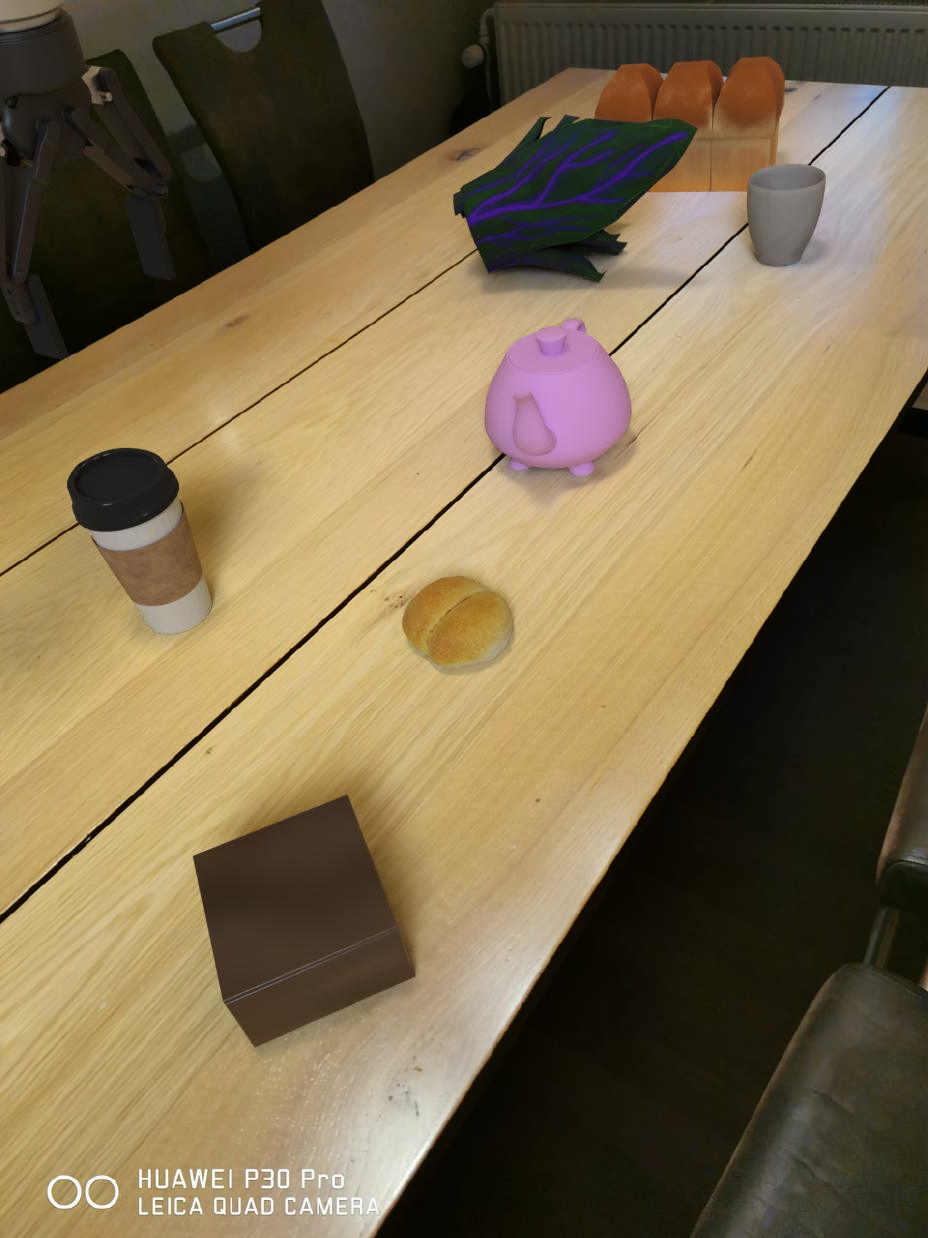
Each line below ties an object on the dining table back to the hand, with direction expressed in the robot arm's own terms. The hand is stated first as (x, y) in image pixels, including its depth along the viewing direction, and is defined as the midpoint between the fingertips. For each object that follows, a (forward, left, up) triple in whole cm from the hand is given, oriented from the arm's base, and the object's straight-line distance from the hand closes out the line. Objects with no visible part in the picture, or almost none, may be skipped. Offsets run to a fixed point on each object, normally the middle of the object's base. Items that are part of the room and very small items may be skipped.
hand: (109, 313), depth 78 cm
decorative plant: (-30, +56, -23) cm, 68 cm away
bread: (-47, +83, -23) cm, 98 cm away
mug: (-17, +78, -23) cm, 83 cm away
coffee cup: (+12, -4, -23) cm, 26 cm away
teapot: (+8, +35, -23) cm, 43 cm away
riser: (+48, -1, -22) cm, 53 cm away
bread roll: (+27, +17, -23) cm, 39 cm away
